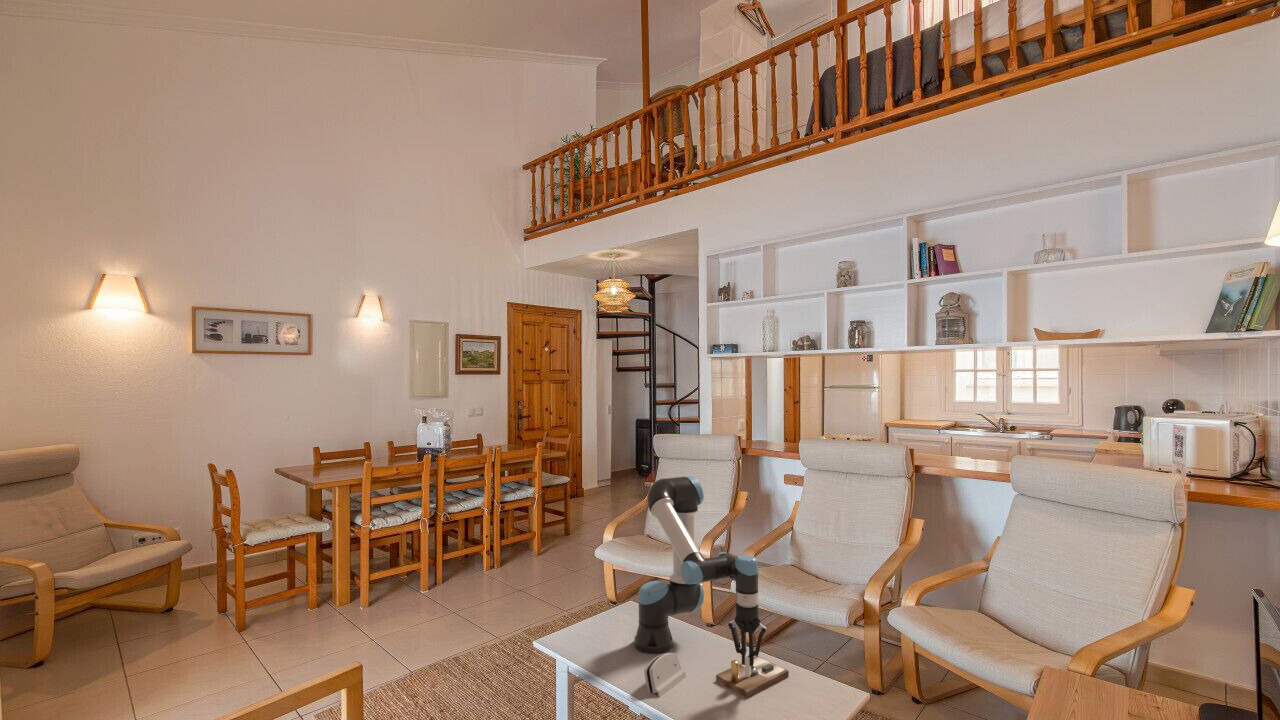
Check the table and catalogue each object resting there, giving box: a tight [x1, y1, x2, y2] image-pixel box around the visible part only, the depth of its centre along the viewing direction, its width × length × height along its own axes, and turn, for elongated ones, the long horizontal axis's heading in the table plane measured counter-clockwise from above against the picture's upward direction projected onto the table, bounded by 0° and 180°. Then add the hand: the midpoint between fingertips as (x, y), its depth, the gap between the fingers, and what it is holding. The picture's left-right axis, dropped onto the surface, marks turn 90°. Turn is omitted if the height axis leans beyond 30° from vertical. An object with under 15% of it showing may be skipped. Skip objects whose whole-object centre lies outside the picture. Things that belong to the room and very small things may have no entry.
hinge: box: [644, 652, 687, 698], centre depth 199 cm, size 17×5×10 cm, turn 143°
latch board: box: [715, 655, 789, 699], centre depth 202 cm, size 14×22×4 cm, turn 129°
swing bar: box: [730, 659, 757, 682], centre depth 199 cm, size 12×3×6 cm, turn 128°
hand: (748, 674), depth 193 cm, fingers closed
